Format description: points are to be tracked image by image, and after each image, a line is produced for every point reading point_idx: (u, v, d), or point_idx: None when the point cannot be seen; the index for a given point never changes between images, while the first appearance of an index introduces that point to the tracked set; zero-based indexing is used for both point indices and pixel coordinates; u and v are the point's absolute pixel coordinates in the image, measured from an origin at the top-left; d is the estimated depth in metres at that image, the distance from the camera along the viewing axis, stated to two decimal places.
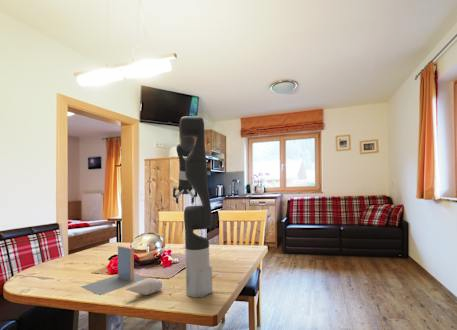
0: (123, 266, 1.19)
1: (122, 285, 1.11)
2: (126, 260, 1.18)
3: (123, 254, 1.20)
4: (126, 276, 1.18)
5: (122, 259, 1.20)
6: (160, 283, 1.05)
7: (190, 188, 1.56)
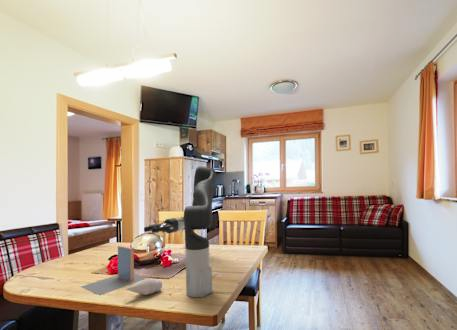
0: (123, 266, 1.19)
1: (122, 285, 1.11)
2: (126, 260, 1.18)
3: (123, 254, 1.20)
4: (126, 276, 1.18)
5: (122, 259, 1.20)
6: (160, 283, 1.05)
7: (168, 225, 1.37)
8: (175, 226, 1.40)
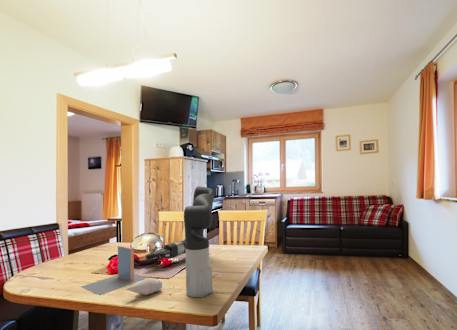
0: (123, 266, 1.19)
1: (122, 285, 1.11)
2: (126, 260, 1.18)
3: (123, 254, 1.20)
4: (126, 276, 1.18)
5: (122, 259, 1.20)
6: (160, 283, 1.05)
7: (166, 251, 1.35)
8: (175, 252, 1.39)
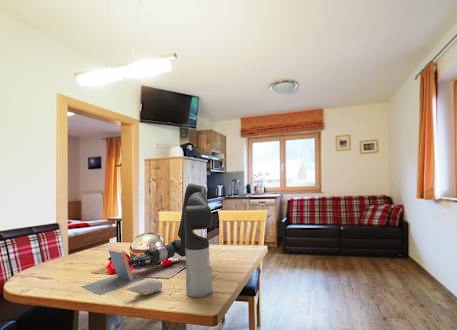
0: (119, 268, 1.18)
1: (122, 285, 1.11)
2: (120, 263, 1.16)
3: (116, 257, 1.17)
4: (125, 277, 1.17)
5: (116, 262, 1.18)
6: (160, 283, 1.05)
7: (146, 257, 1.26)
8: (157, 257, 1.29)
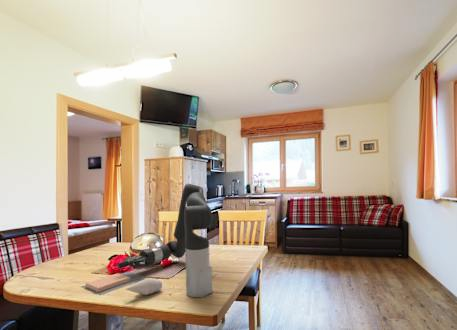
0: None
1: (122, 285, 1.11)
2: None
3: None
4: None
5: None
6: (160, 283, 1.05)
7: (141, 258, 1.23)
8: (152, 259, 1.27)
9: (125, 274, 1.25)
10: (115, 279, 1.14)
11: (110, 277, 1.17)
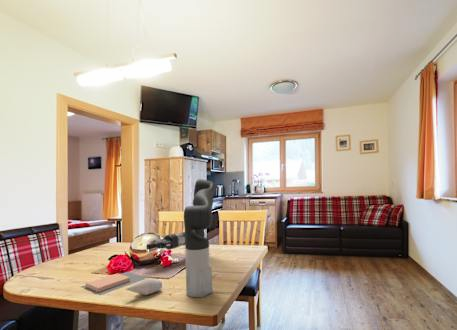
0: None
1: (122, 285, 1.11)
2: None
3: None
4: None
5: None
6: (160, 283, 1.05)
7: (166, 241, 1.36)
8: (175, 242, 1.39)
9: (125, 274, 1.25)
10: (115, 279, 1.14)
11: (110, 277, 1.17)
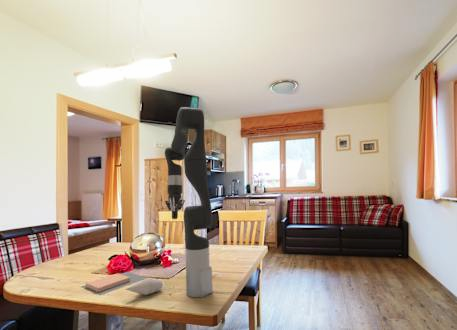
0: None
1: (122, 285, 1.11)
2: None
3: None
4: None
5: None
6: (160, 283, 1.05)
7: (177, 199, 1.33)
8: (180, 188, 1.35)
9: (125, 274, 1.25)
10: (115, 279, 1.14)
11: (110, 277, 1.17)
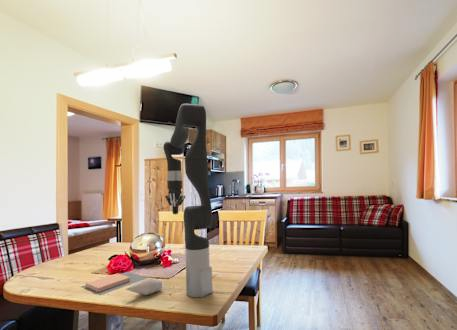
0: None
1: (122, 285, 1.11)
2: None
3: None
4: None
5: None
6: (160, 283, 1.05)
7: (177, 195, 1.33)
8: (180, 184, 1.34)
9: (125, 274, 1.25)
10: (115, 279, 1.14)
11: (110, 277, 1.17)
